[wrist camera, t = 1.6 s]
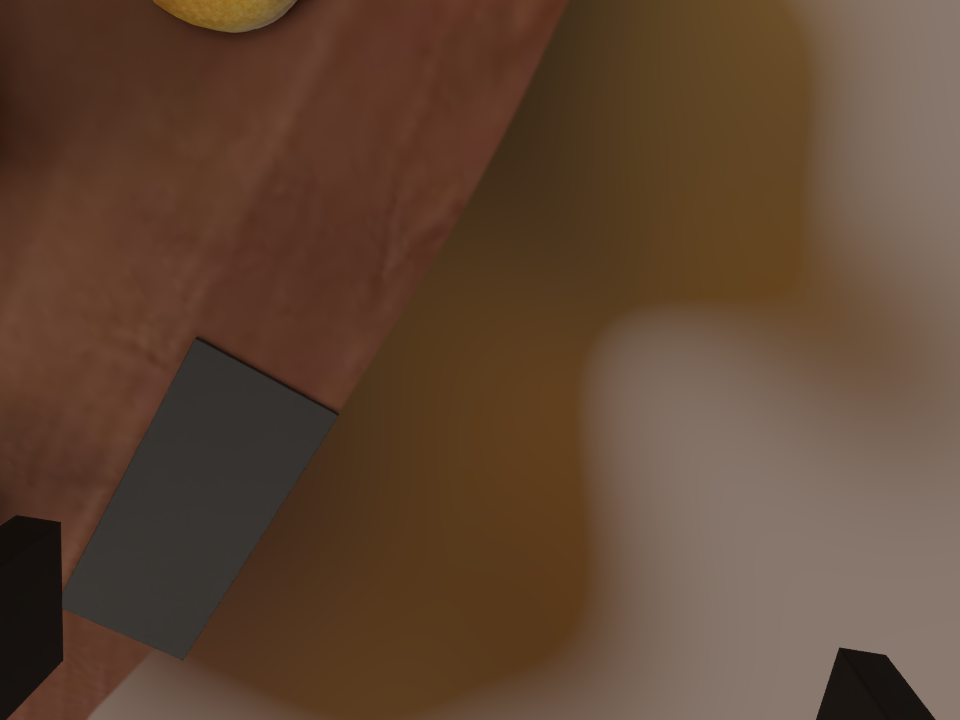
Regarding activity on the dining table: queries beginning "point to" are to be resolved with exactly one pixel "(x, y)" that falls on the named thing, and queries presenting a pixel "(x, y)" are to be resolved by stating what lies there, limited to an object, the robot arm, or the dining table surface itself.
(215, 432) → the edge mat
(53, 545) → the robot arm
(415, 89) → the dining table surface
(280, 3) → the bread roll
